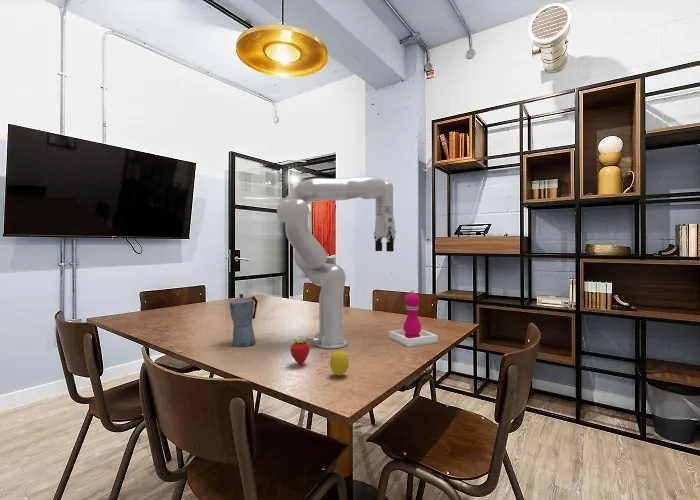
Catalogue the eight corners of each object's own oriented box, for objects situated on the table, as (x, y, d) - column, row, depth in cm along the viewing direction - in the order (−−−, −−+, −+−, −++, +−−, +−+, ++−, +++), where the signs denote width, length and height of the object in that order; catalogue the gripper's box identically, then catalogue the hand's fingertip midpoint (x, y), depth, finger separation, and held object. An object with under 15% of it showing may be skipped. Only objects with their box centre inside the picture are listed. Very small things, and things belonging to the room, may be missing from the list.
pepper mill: (421, 341, 140) (421, 291, 140) (402, 340, 142) (402, 290, 141) (421, 336, 147) (421, 288, 147) (403, 335, 149) (403, 288, 148)
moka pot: (220, 347, 136) (220, 295, 136) (246, 337, 150) (246, 290, 150) (241, 350, 132) (240, 296, 132) (265, 339, 147) (265, 291, 146)
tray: (407, 347, 135) (407, 339, 135) (389, 338, 148) (389, 331, 148) (437, 342, 141) (437, 335, 141) (416, 334, 154) (417, 327, 154)
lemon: (330, 373, 109) (329, 347, 109) (348, 372, 109) (347, 346, 109) (330, 380, 103) (330, 352, 103) (349, 379, 104) (349, 352, 104)
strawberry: (286, 368, 113) (286, 337, 113) (297, 360, 120) (297, 331, 120) (303, 370, 111) (302, 338, 111) (313, 362, 118) (313, 333, 118)
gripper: (402, 210, 146) (402, 251, 147) (382, 213, 162) (382, 250, 163) (386, 209, 143) (386, 251, 144) (367, 212, 159) (367, 251, 160)
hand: (384, 251), depth 153 cm, fingers open, 9 cm apart
